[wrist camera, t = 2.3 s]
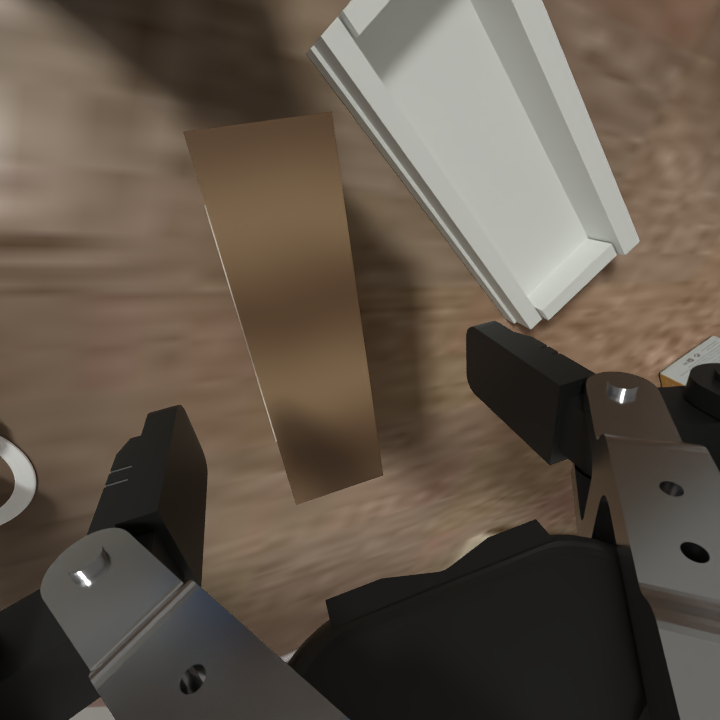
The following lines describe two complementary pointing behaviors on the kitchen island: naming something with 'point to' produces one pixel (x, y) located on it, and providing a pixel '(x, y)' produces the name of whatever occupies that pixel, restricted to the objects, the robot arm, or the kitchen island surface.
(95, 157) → the kitchen island surface
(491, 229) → the frame
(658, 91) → the kitchen island surface
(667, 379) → the small box
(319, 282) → the oak frame
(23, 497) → the teacup and saucer
